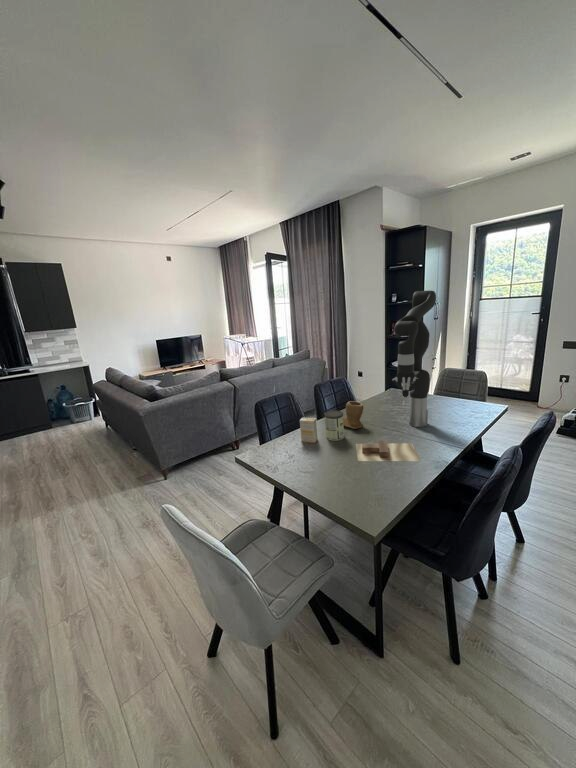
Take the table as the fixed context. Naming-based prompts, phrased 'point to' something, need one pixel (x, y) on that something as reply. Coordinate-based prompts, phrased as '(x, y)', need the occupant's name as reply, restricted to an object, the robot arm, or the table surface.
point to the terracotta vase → (353, 415)
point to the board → (391, 453)
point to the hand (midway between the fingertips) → (405, 396)
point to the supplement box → (308, 430)
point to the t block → (377, 449)
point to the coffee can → (334, 425)
